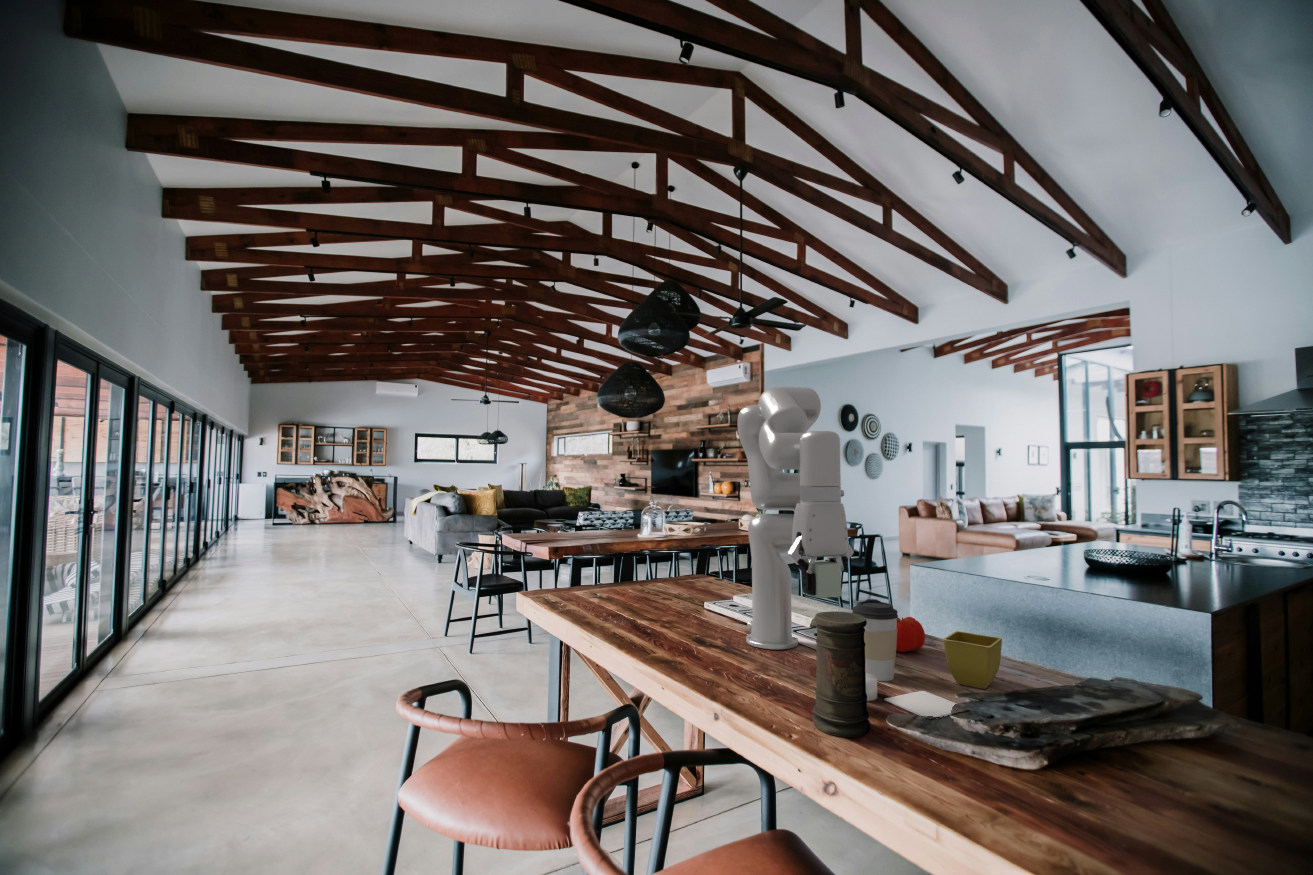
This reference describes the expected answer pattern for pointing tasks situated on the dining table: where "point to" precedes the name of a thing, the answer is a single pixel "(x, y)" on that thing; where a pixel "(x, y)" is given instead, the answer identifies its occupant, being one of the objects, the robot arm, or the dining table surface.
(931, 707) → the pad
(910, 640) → the tomato
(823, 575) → the sage block
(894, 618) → the coffee cup
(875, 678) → the white rounded upright piece
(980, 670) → the flower pot
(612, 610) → the dining table surface
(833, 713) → the container
